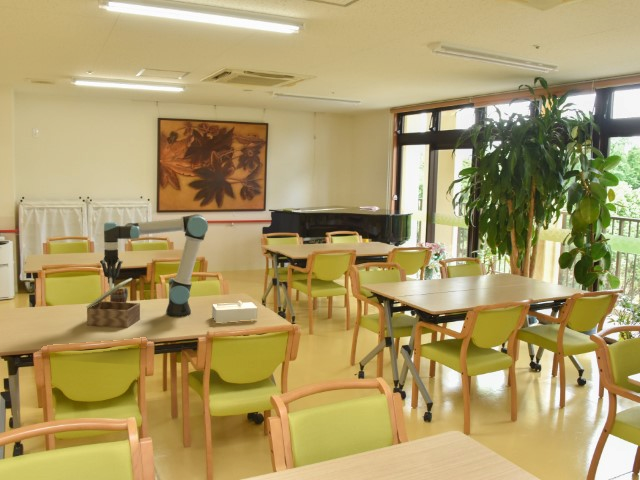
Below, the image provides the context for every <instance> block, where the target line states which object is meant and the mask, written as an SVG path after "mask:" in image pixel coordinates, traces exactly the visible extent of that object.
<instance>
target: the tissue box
mask: <svg viewBox="0 0 640 480" xmlns="http://www.w3.org/2000/svg"><path fill="white" fill-rule="evenodd" d="M211 308H212V309H211V310H212V311H211V313H212V314H211V315H212V316H211V317H213V318H214V319H213V318H212V319H213V321H214V320H215V321H216V322H230V321H240V320H251V319H257V320H258V307H257V306H256V305H255V304H254V303H253V302H252V301H251V302H242V300H238V301H237V302H227V303H224V302H223V303H222V302H221V303H214V304H213V303H212V304H211ZM215 321H214V322H215ZM216 322H215V323H216Z"/></svg>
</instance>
